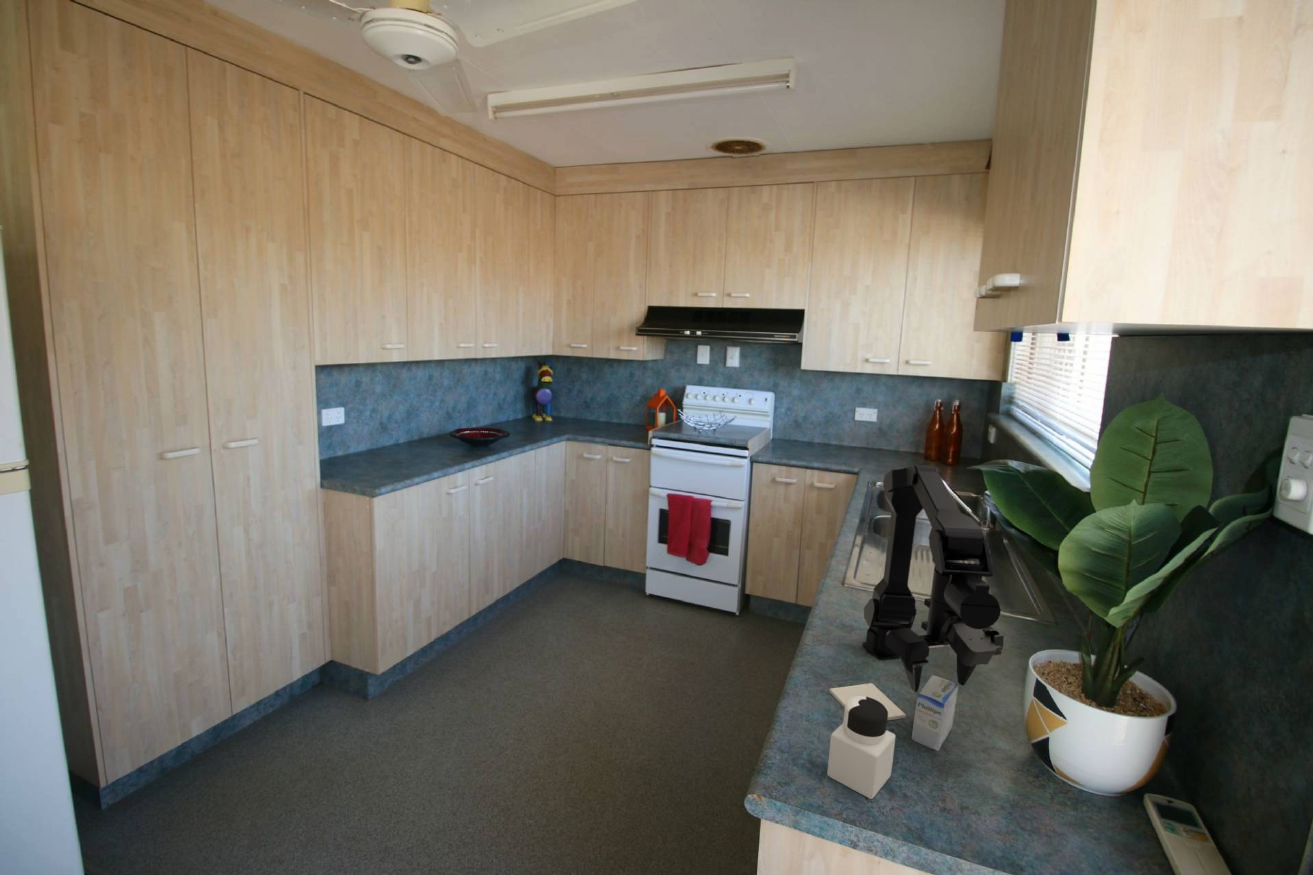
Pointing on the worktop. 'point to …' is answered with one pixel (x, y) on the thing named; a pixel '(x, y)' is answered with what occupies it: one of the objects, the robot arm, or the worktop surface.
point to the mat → (868, 691)
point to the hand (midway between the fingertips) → (938, 687)
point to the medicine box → (934, 712)
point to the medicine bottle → (862, 747)
